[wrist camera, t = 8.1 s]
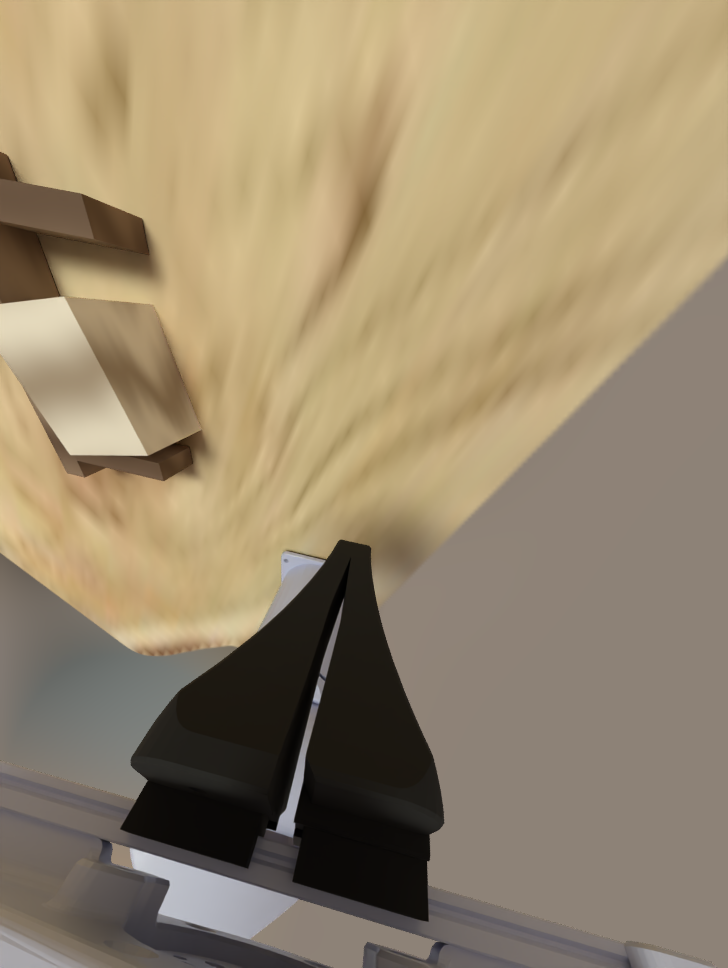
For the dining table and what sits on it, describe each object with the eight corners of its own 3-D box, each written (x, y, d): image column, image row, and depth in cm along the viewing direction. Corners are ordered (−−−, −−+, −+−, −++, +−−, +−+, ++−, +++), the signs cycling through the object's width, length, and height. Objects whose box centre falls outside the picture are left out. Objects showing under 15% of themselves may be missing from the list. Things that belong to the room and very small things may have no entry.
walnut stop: (195, 478, 23) (168, 497, 20) (105, 457, 23) (67, 473, 20) (133, 177, 13) (66, 141, 11) (-20, 149, 13) (-121, 108, 11)
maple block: (203, 429, 20) (147, 455, 16) (138, 429, 21) (70, 455, 17) (154, 304, 16) (63, 296, 12) (77, 313, 17) (-32, 307, 13)
